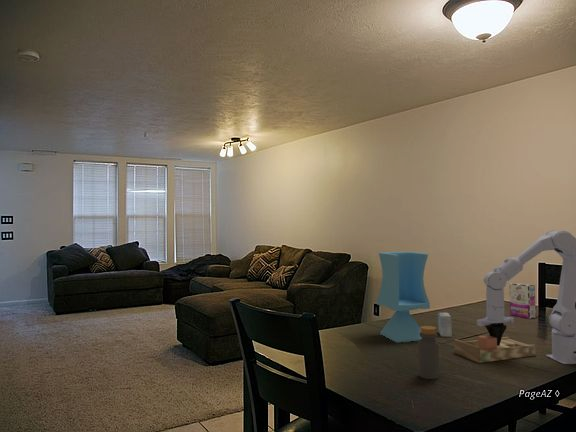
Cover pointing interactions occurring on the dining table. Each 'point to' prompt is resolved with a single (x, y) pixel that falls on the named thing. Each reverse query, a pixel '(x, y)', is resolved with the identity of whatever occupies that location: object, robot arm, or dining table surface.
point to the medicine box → (444, 324)
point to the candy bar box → (522, 300)
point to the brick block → (487, 342)
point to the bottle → (428, 353)
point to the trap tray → (504, 351)
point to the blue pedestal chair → (402, 293)
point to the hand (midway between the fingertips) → (496, 345)
